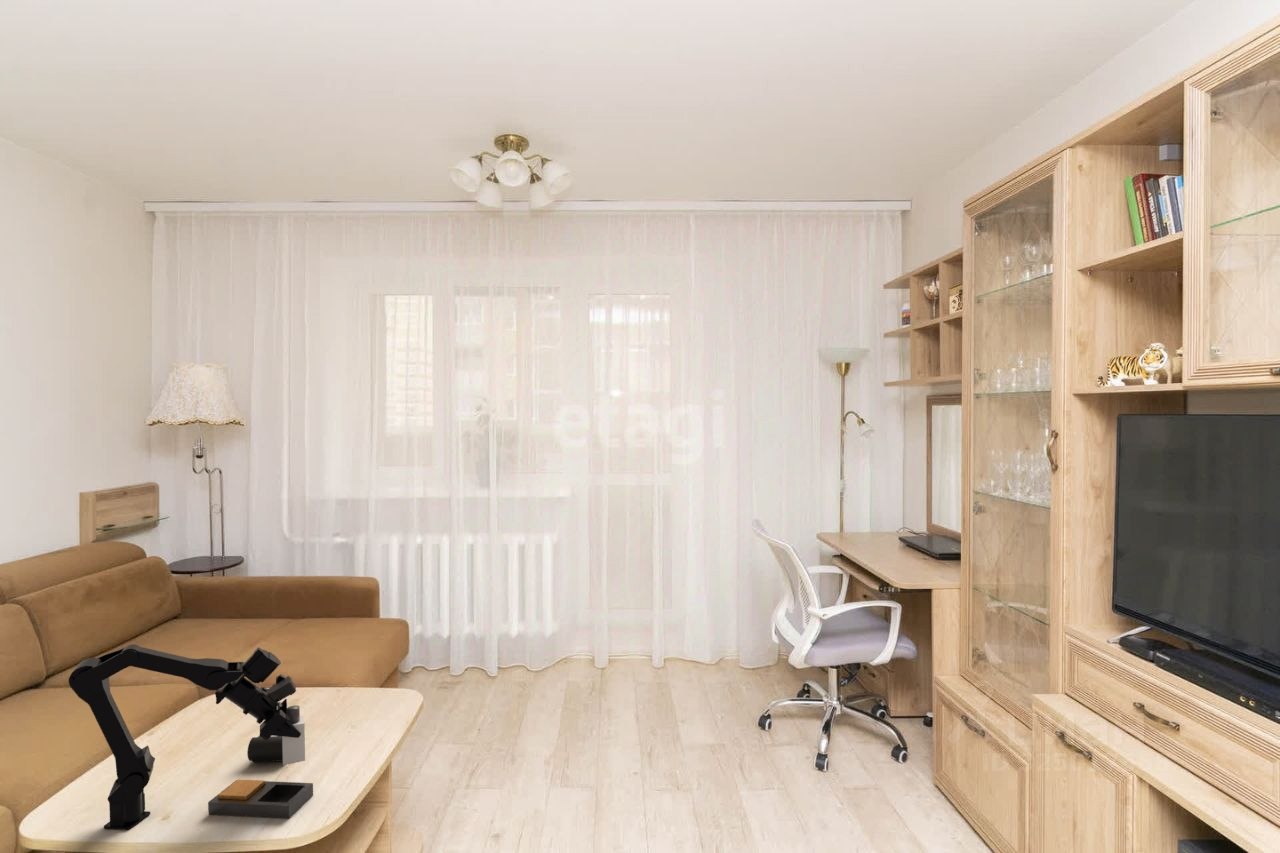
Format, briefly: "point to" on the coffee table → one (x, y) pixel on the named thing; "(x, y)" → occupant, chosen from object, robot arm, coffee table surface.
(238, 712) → the coffee table surface
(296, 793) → the two-compartment sponge tray
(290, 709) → the white soap bottle
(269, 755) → the end cap
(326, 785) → the coffee table surface
